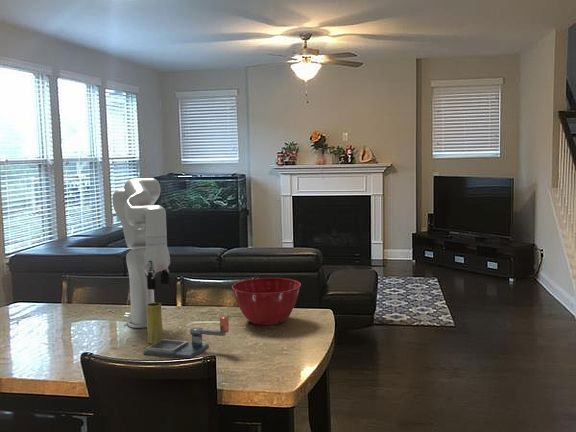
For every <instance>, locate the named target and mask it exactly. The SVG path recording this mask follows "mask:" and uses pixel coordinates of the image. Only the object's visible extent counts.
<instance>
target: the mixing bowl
mask: <svg viewBox="0 0 576 432" xmlns="http://www.w3.org/2000/svg"><path fill="white" fill-rule="evenodd" d="M301 286H302V284H301V282H300V281H298V280H296V279H291V278H283V277H258V278H249V279H244V280H241V281H237V282H235V283H234V284H233V285H231V288H232V290H233V293H234V297H235V300H236V303H237V305H238V308H239V309H240V311H241V313H242V314H243V316H244V317H245V318H246V320H248V322H251V323H252V324H254V325H258V326H274V325H278V324H281V323H283V322H284V321H286V320H287V319H288V318H289V317H290V315H291V313H292V312H293V309H294V308H295V305H296V303H297V300H298V296H299V293H300V288H301Z"/></svg>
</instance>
